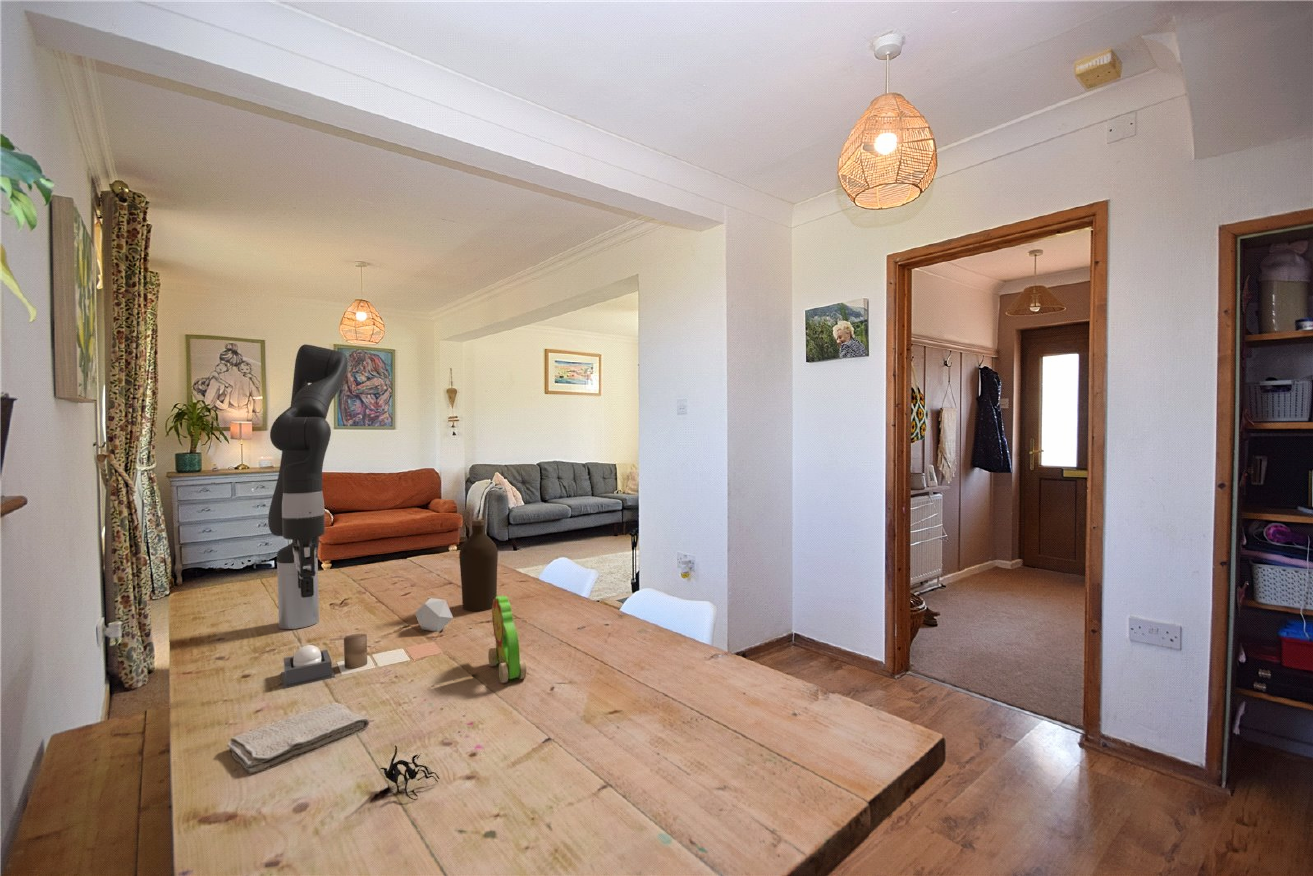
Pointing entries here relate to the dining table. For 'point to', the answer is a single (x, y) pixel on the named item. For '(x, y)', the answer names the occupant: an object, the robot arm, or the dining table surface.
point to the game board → (394, 657)
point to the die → (434, 615)
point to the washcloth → (295, 736)
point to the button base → (307, 671)
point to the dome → (306, 656)
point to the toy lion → (505, 642)
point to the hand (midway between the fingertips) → (305, 592)
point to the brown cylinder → (355, 651)
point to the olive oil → (478, 569)
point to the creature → (411, 772)
